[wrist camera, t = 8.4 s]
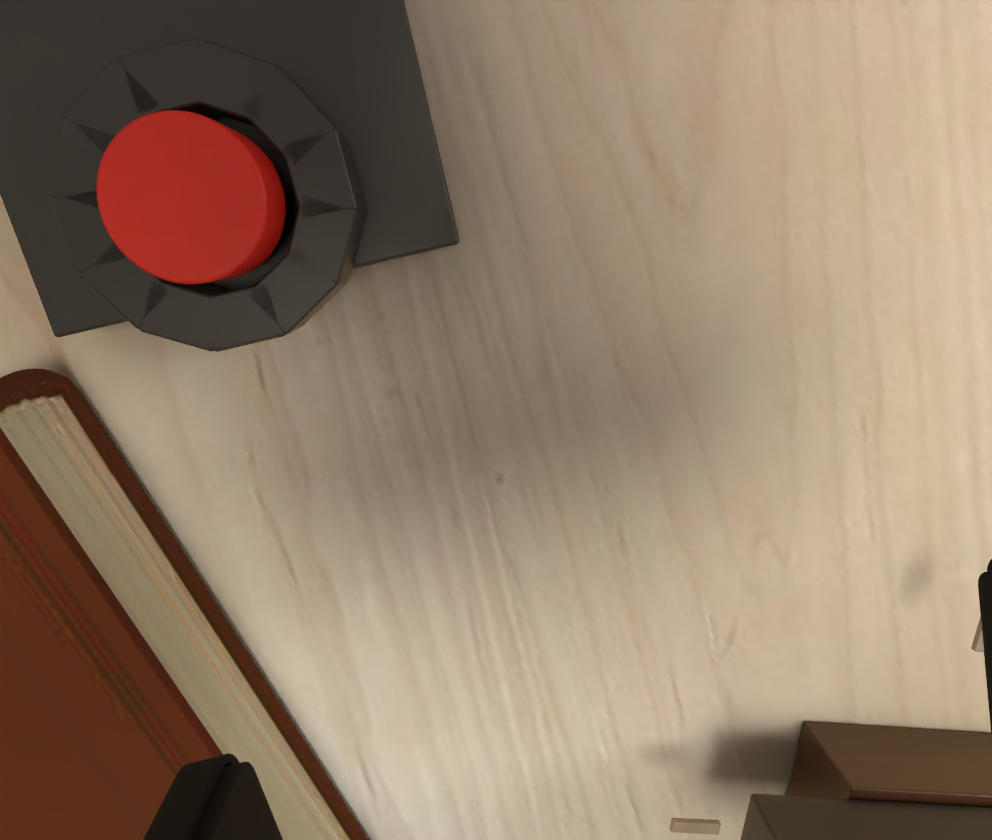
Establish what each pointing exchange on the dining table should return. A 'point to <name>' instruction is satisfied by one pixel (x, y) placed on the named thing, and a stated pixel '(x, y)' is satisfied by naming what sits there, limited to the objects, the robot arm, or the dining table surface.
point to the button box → (240, 106)
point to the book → (118, 647)
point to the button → (190, 198)
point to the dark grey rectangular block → (861, 820)
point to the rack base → (885, 765)
